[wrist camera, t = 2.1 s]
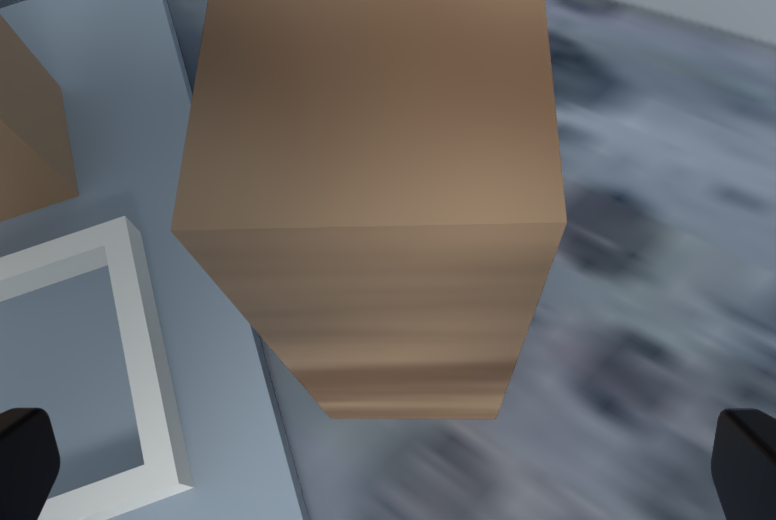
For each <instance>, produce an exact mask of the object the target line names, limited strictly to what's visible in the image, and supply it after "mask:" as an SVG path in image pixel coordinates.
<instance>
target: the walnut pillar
mask: <svg viewBox="0 0 776 520" xmlns="http://www.w3.org/2000/svg"><path fill="white" fill-rule="evenodd" d="M566 224H567V218H566V208H565V198H564V188H563V178H562V168H561V158H560V148H559V138H558V128H557V118H556V108H555V98H554V88H553V78H552V68H551V58H550V48H549V38H548V28H547V18H546V8H545V0H208V3H207V10H206V16H205V22H204V28H203V34H202V40H201V46H200V52H199V59H198V65H197V71H196V77H195V83H194V89H193V95H192V101H191V108H190V114H189V120H188V126H187V132H186V138H185V144H184V150H183V157H182V163H181V169H180V175H179V181H178V187H177V193H176V199H175V205H174V212H173V218H172V224H171V230H170V231H171V232H172V233H173V234H174V235H175V237H176V238H177V239H178V240H179V241H180V242H181V244H182V245H183V246H184V247H185V248H186V249H187V251H188V252H189V253H190V254H191V255H192V256H193V258H194V259H195V260H196V261H197V262H198V264H199V265H200V266H201V267H202V268H203V269H204V271H205V272H206V273H207V274H208V275H209V276H210V278H211V279H212V280H213V281H214V282H215V283H216V285H217V286H218V287H219V288H220V289H221V291H222V292H223V293H224V294H225V295H226V296H227V298H228V299H229V300H230V301H231V302H232V303H233V305H234V306H235V307H236V308H237V309H238V310H239V312H240V313H241V314H242V315H243V316H244V318H245V319H246V320H247V321H248V322H249V323H250V325H251V326H252V327H253V328H254V329H255V330H256V332H257V333H258V334H259V335H260V336H261V337H262V339H263V340H264V341H265V342H266V343H267V344H268V346H269V347H270V348H271V349H272V350H273V352H274V353H275V354H276V355H277V356H278V357H279V359H280V360H281V361H282V362H283V363H284V364H285V366H286V367H287V368H288V369H289V370H290V371H291V373H292V374H293V375H294V376H295V377H296V379H297V380H298V381H299V382H300V383H301V384H302V386H303V387H304V388H305V389H306V390H307V391H308V393H309V394H310V395H311V396H312V397H313V398H314V400H315V401H316V402H317V403H318V404H319V406H320V407H321V408H322V409H323V410H324V411H325V413H326V414H327V415H328V416H329V417H330V418H365V419H496V418H497V415H498V412H499V410H500V407H501V404H502V401H503V398H504V396H505V393H506V390H507V387H508V385H509V382H510V379H511V376H512V373H513V371H514V368H515V365H516V362H517V360H518V357H519V354H520V351H521V349H522V346H523V343H524V340H525V337H526V335H527V332H528V329H529V326H530V324H531V321H532V318H533V315H534V312H535V310H536V307H537V304H538V301H539V299H540V296H541V293H542V290H543V287H544V285H545V282H546V279H547V276H548V274H549V271H550V268H551V265H552V262H553V260H554V257H555V254H556V251H557V249H558V246H559V243H560V240H561V238H562V235H563V232H564V229H565V226H566Z"/></svg>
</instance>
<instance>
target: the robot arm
mask: <svg viewBox="0 0 776 520" xmlns="http://www.w3.org/2000/svg"><path fill="white" fill-rule="evenodd" d="M60 463H61V462H60V453H59V450H58V446H57V442H56V439H55V435H54V431H53V428H52V424H51V420H50V417H49V415H48V413H47V412H46V411H45V410H44V409H42V408H22V407H16V408H12V409H9V410H7V411H5V412H2V413H0V520H38V518H39V516H40V513H41V511H42V509H43V507H44V505H45V503H46V500H47V498H48V496H49V494H50V492H51V489H52V487H53V485H54V483H55V481H56V479H57V476H58V473H59V470H60ZM711 473H712V478H713V482H714V485H715V488H716V491H717V494H718V497H719V500H720V503H721V506H722V508H723V511H724V514H725V517H726V520H776V419H775V418H773V417H771V416H769V415H768V414H766V413H764V412H762V411H760V410H758V409H754V408H727V409H724V410H723V411H722V412H721V413H720V415H719V417H718V421H717V427H716V433H715V440H714V446H713V452H712V458H711Z"/></svg>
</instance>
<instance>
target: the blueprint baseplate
mask: <svg viewBox="0 0 776 520" xmlns="http://www.w3.org/2000/svg"><path fill="white" fill-rule="evenodd" d="M192 95H193V94H192V91H191V87H190V83H189V80H188V76H187V72H186V69H185V65H184V61H183V58H182V54H181V50H180V47H179V43H178V40H177V36H176V32H175V29H174V25H173V21H172V18H171V14H170V10H169V7H168V3H167V0H25V1H22V2H19V3H16V4H13V5H9V6H6V7H3V8H0V413H2V412H5V411H7V410H9V409H12V408H16V407H22V408H42V409H44V410H45V411H46V412H47V413H48V415H49V417H50V420H51V424H52V428H53V431H54V435H55V439H56V442H57V446H58V450H59V453H60V462H61V463H60V470H59V473H58V476H57V479H56V481H55V483H54V485H53V487H52V489H51V492H50V494H49V496H48V498H47V500H46V503H45V505H44V507H43V509H42V511H41V513H40V516H39V518H38V520H309V517H308V513H307V510H306V506H305V502H304V499H303V495H302V491H301V488H300V484H299V480H298V477H297V473H296V470H295V466H294V462H293V459H292V455H291V451H290V448H289V444H288V440H287V437H286V433H285V429H284V426H283V422H282V418H281V415H280V411H279V408H278V404H277V400H276V397H275V393H274V389H273V386H272V382H271V378H270V375H269V371H268V367H267V364H266V360H265V357H264V353H263V349H262V346H261V342H260V338H259V335H258V333H257V332H256V330H255V329H254V328H253V327H252V326H251V325H250V323H249V322H248V321H247V320H246V319H245V318H244V316H243V315H242V314H241V313H240V312H239V310H238V309H237V308H236V307H235V306H234V305H233V303H232V302H231V301H230V300H229V299H228V298H227V296H226V295H225V294H224V293H223V292H222V291H221V289H220V288H219V287H218V286H217V285H216V283H215V282H214V281H213V280H212V279H211V278H210V276H209V275H208V274H207V273H206V272H205V271H204V269H203V268H202V267H201V266H200V265H199V264H198V262H197V261H196V260H195V259H194V258H193V256H192V255H191V254H190V253H189V252H188V251H187V249H186V248H185V247H184V246H183V245H182V244H181V242H180V241H179V240H178V239H177V238H176V237H175V235H174V234H173V233H172V232H171V231H170V230H171V224H172V218H173V212H174V205H175V199H176V193H177V187H178V181H179V175H180V169H181V163H182V157H183V150H184V144H185V138H186V132H187V126H188V120H189V114H190V108H191V101H192Z"/></svg>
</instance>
